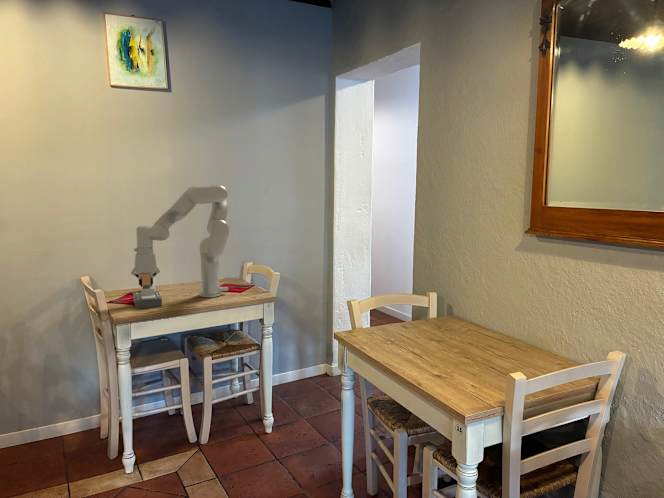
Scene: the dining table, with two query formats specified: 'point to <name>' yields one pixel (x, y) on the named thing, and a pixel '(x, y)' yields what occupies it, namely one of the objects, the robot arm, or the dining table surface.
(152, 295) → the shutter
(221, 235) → the robot arm
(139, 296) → the grey sliding cover box
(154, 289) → the white cup
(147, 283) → the tan rectangular block
